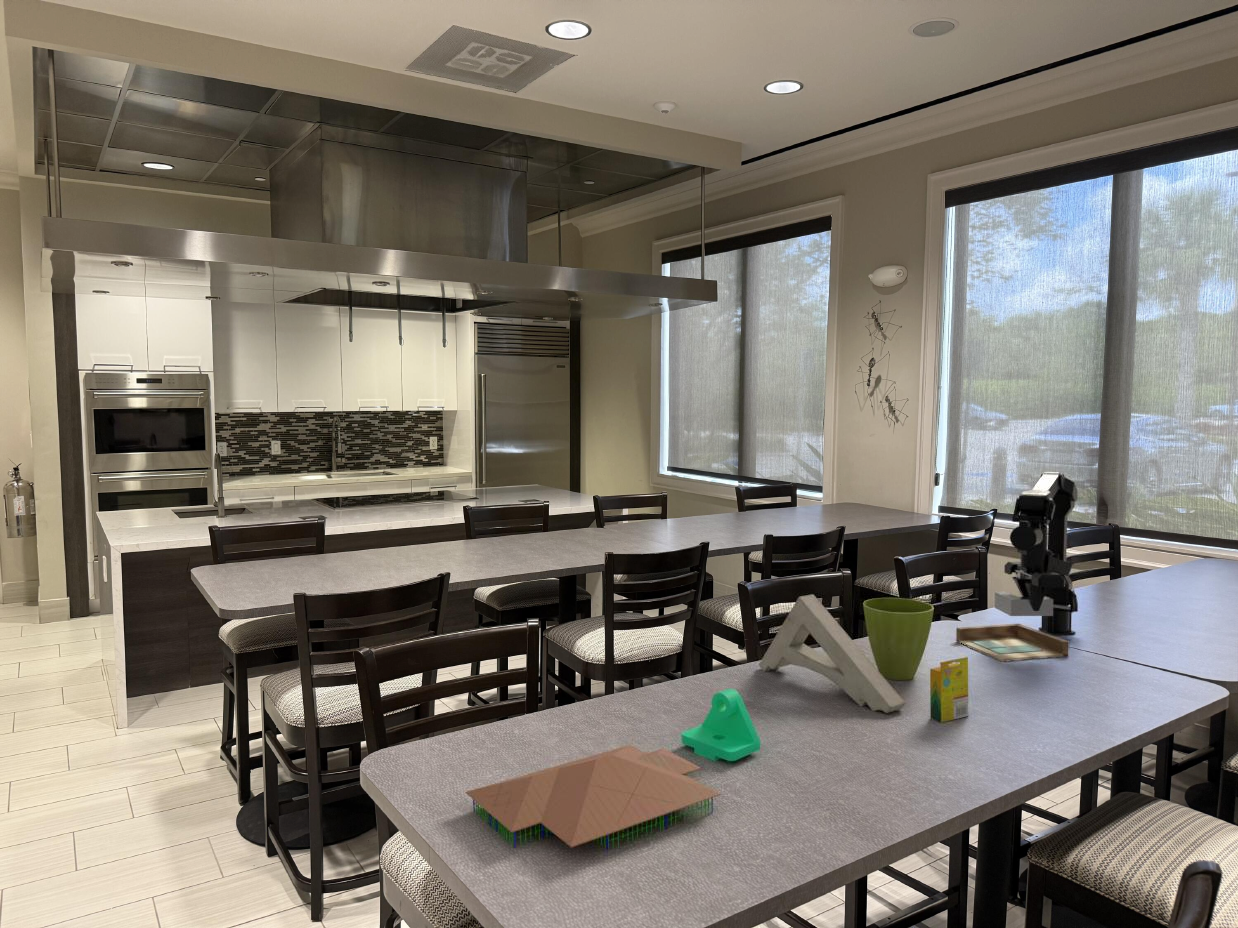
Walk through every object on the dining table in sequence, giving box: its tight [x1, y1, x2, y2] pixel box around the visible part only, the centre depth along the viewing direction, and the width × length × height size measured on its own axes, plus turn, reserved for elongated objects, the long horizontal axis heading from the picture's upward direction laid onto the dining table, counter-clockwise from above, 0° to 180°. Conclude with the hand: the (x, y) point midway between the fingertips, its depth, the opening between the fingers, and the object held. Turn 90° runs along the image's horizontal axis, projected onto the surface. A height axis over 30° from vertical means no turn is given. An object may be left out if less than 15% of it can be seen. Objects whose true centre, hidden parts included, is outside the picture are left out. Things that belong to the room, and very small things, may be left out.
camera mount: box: [681, 688, 761, 762], centre depth 146 cm, size 12×8×10 cm, turn 43°
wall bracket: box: [758, 593, 906, 714], centre depth 179 cm, size 22×4×30 cm
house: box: [465, 744, 721, 851], centre depth 125 cm, size 23×33×8 cm
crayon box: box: [929, 656, 969, 724], centre depth 161 cm, size 7×3×12 cm, turn 115°
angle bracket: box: [994, 591, 1053, 617], centre depth 205 cm, size 10×9×4 cm
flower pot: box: [862, 597, 935, 681], centre depth 187 cm, size 15×15×16 cm
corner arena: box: [955, 623, 1070, 662], centre depth 208 cm, size 18×18×4 cm
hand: (1033, 609), depth 202 cm, fingers closed on angle bracket, 3 cm apart
